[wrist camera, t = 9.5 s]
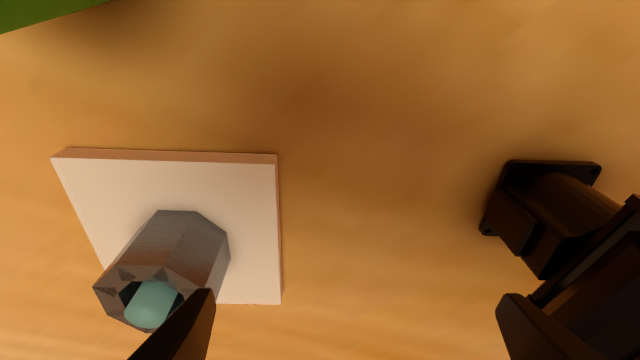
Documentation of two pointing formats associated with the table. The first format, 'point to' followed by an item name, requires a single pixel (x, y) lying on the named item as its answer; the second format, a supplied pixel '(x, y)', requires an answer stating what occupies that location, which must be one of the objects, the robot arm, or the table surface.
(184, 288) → the steel collar
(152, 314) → the post block
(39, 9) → the cup
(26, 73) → the table surface
